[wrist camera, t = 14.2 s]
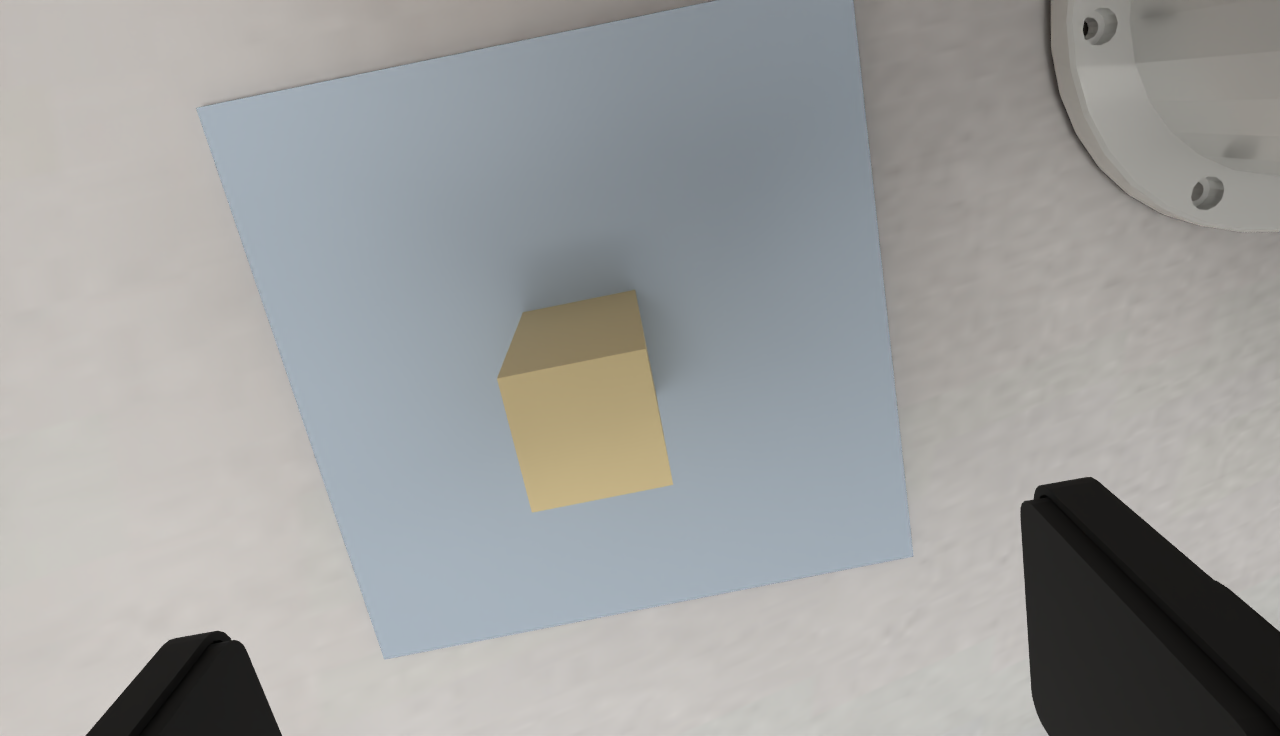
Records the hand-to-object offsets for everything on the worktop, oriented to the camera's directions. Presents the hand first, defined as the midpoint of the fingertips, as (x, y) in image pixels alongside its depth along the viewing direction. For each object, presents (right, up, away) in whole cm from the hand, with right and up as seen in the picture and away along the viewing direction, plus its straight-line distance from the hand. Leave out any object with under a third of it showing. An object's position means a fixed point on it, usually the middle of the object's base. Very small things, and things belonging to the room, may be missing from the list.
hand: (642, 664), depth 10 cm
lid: (-1, +4, +15) cm, 15 cm away
